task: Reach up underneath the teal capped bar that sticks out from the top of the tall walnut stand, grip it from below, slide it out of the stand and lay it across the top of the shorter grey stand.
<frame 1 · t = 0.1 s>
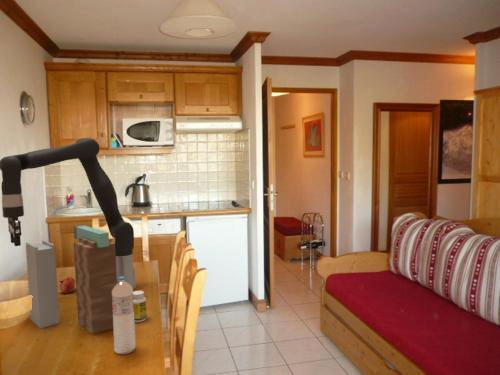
hand: (15, 244, 170), 29 cm above the table, tool pointing down, fingers open, 8 cm apart
teal bar: (90, 242, 158), point 32 cm above the table, touching walnut stand
pill bottle: (138, 320, 163), on the table
walnut stand: (98, 325, 158), on the table
water bottle: (125, 350, 138), on the table
pomegranate: (68, 292, 198), on the table
grey stand: (44, 321, 163), on the table
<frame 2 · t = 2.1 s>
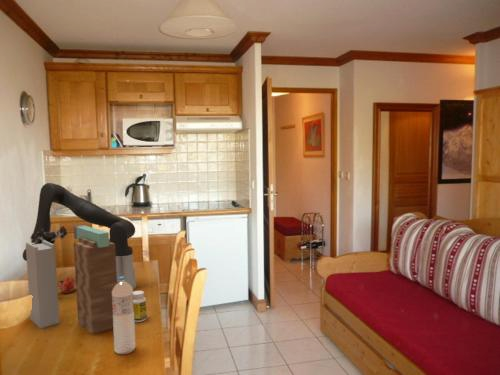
hand: (53, 229, 181), 33 cm above the table, tool pointing upward, fingers open, 8 cm apart
nothing on the table moved.
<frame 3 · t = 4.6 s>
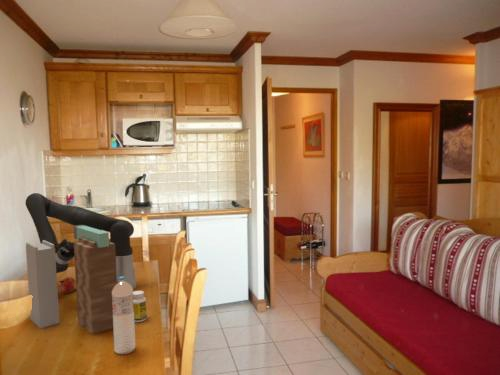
hand: (76, 239, 168), 31 cm above the table, tool pointing upward, fingers open, 8 cm apart
nothing on the table moved.
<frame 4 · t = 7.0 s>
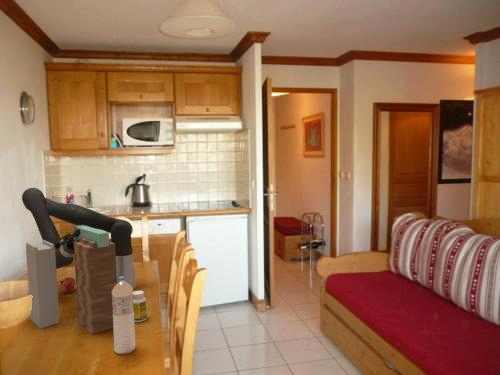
hand: (84, 230, 162), 36 cm above the table, tool pointing upward, fingers closed on teal bar, 3 cm apart
teal bar: (90, 242, 158), point 32 cm above the table, touching gripper, walnut stand
everything else where it was.
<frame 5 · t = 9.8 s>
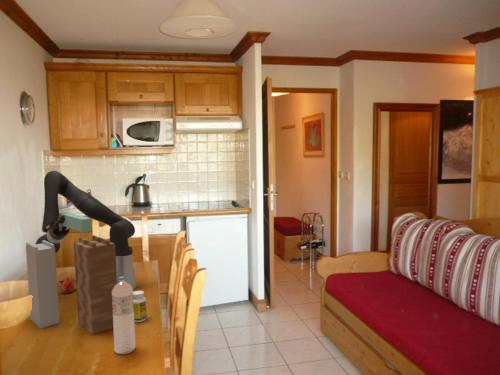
hand: (69, 216, 172), 40 cm above the table, tool pointing upward, fingers closed on teal bar, 3 cm apart
teal bar: (74, 227, 169), point 36 cm above the table, touching gripper
everything else where it was.
when the fingers open (35 cm above the table, at t = 12.7 s): teal bar drops 1 cm, resting on grey stand.
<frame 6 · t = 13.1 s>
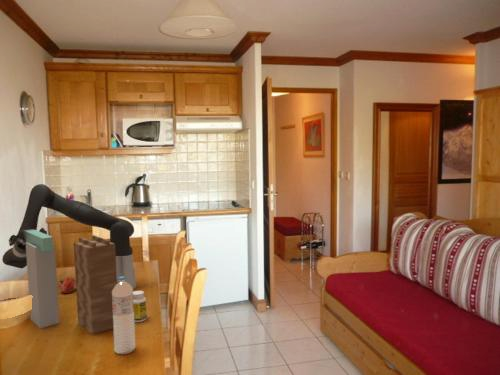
hand: (32, 231, 166), 35 cm above the table, tool pointing upward, fingers open, 7 cm apart
teal bar: (38, 246, 162), point 30 cm above the table, touching grey stand
everything else where it was.
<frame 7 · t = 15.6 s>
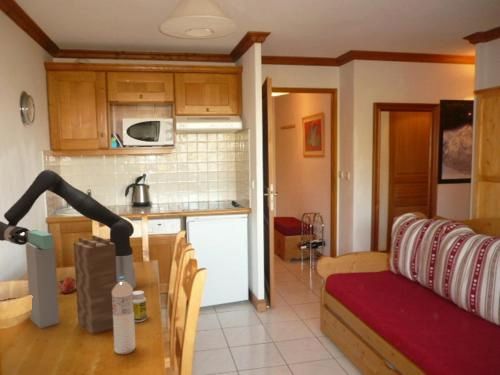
hand: (37, 240, 172), 30 cm above the table, tool horizontal, fingers open, 8 cm apart
teal bar: (40, 245, 161), point 30 cm above the table, touching gripper
everything else where it was.
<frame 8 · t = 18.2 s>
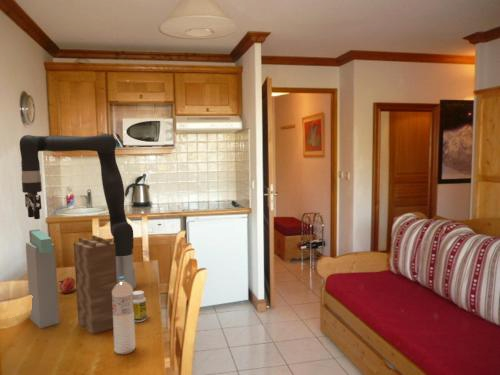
hand: (34, 218, 181), 38 cm above the table, tool pointing down, fingers open, 8 cm apart
teal bar: (40, 247, 160), point 30 cm above the table, touching grey stand
everything else where it was.
at the end: teal bar inside the target area on the grey stand (0.5 cm from its centre), point 30.0 cm above the grey stand's base; teal bar touching grey stand; the gripper is holding nothing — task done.
